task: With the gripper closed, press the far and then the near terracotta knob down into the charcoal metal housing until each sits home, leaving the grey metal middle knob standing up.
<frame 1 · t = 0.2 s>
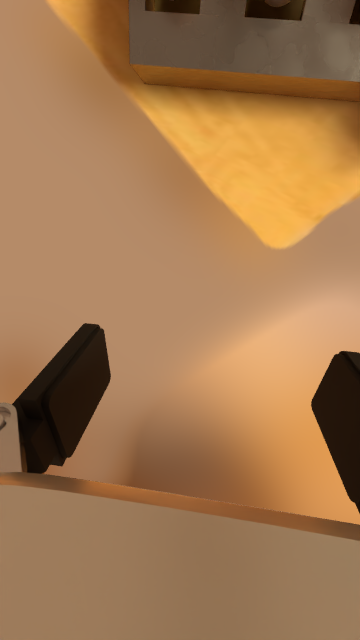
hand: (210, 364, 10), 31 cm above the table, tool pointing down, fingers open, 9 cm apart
knob housing: (267, 15, 25), on the table
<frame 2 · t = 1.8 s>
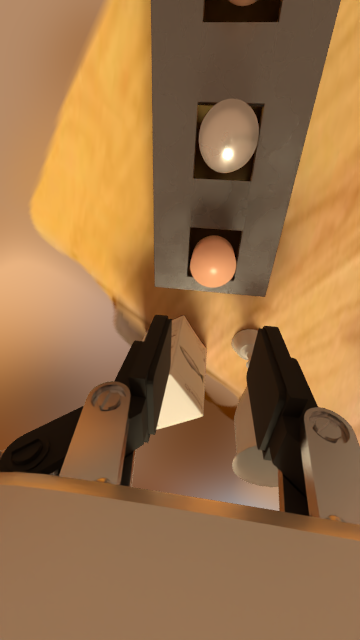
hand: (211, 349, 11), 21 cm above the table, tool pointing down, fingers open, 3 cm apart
supplement box: (176, 339, 38), on the table
chalice: (248, 342, 36), on the table
knob housing: (223, 150, 24), on the table
middle knob: (227, 140, 17), point 8 cm above the table, slide at 0.0 cm
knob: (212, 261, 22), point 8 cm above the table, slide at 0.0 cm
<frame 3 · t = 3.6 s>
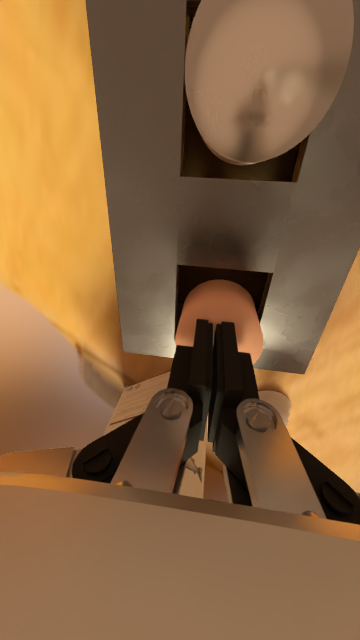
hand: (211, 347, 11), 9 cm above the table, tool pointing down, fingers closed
supplement box: (166, 397, 28), on the table
chalice: (265, 405, 26), on the table
knob housing: (237, 128, 14), on the table
middle knob: (255, 85, 7), point 8 cm above the table, slide at 0.0 cm
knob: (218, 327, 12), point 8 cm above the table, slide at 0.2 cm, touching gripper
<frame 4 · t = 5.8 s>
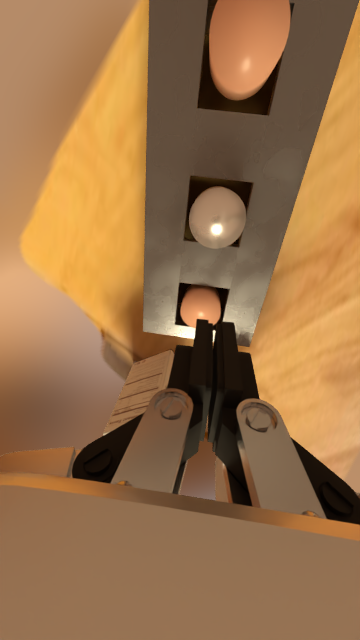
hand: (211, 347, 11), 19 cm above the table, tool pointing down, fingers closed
supplement box: (163, 370, 38), on the table
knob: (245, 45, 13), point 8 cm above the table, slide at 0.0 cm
chalice: (233, 376, 37), on the table
knob housing: (215, 206, 25), on the table
middle knob: (216, 217, 18), point 8 cm above the table, slide at 0.0 cm
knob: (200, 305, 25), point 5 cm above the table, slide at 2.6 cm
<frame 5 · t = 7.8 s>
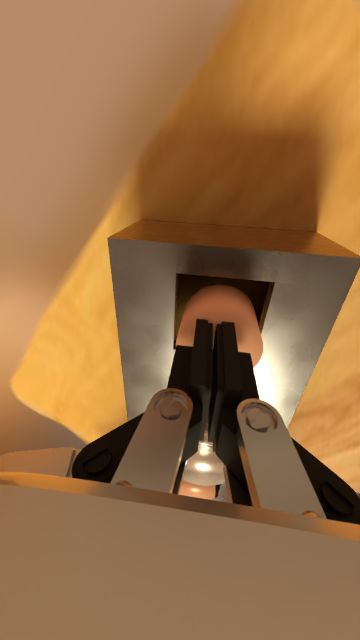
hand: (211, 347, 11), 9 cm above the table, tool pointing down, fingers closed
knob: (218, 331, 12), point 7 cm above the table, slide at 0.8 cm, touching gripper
knob housing: (206, 367, 23), on the table
middle knob: (201, 446, 16), point 8 cm above the table, slide at 0.0 cm
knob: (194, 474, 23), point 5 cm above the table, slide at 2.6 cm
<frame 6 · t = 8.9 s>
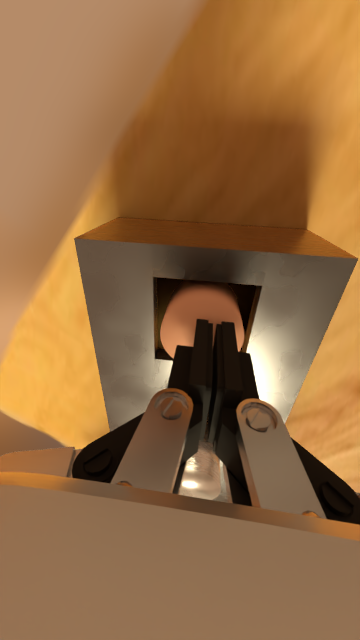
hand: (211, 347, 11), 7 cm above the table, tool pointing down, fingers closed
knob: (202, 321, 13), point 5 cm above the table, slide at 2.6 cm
knob housing: (194, 372, 22), on the table
middle knob: (188, 460, 15), point 8 cm above the table, slide at 0.0 cm
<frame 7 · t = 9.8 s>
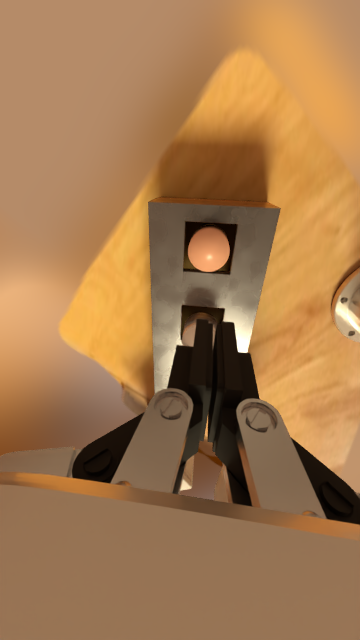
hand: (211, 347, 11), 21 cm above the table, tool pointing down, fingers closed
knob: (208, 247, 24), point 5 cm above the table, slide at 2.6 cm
knob housing: (203, 302, 34), on the table
middle knob: (200, 334, 27), point 8 cm above the table, slide at 0.0 cm
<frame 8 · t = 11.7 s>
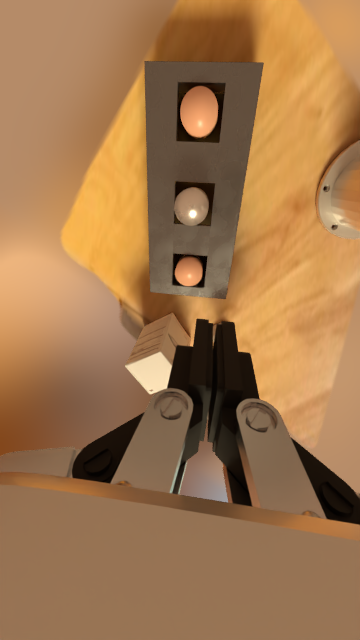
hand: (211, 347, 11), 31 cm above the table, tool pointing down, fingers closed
supplement box: (167, 331, 49), on the table
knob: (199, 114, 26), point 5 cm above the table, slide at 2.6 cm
knob housing: (196, 200, 36), on the table
middle knob: (192, 206, 29), point 8 cm above the table, slide at 0.0 cm
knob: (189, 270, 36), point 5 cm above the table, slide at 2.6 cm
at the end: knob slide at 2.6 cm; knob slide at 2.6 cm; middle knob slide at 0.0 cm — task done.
